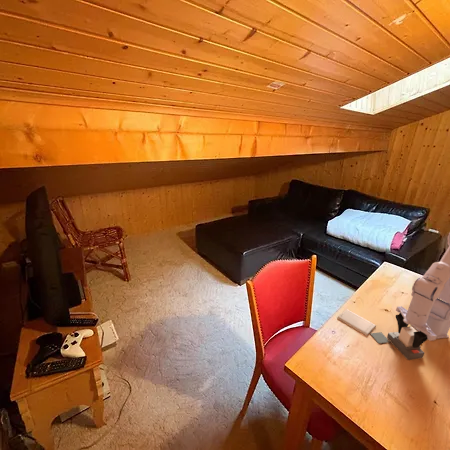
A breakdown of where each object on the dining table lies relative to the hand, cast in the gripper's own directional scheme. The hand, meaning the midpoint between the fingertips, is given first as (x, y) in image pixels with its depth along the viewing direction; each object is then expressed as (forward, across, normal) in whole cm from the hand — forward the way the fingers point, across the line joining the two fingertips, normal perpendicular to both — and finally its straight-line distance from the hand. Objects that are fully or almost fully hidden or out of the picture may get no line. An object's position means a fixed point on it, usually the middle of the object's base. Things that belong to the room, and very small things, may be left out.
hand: (408, 339), depth 89 cm
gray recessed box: (+4, 0, 0) cm, 4 cm away
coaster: (+4, -6, -6) cm, 9 cm away
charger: (+2, 0, 0) cm, 2 cm away
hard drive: (+5, -15, -10) cm, 18 cm away
